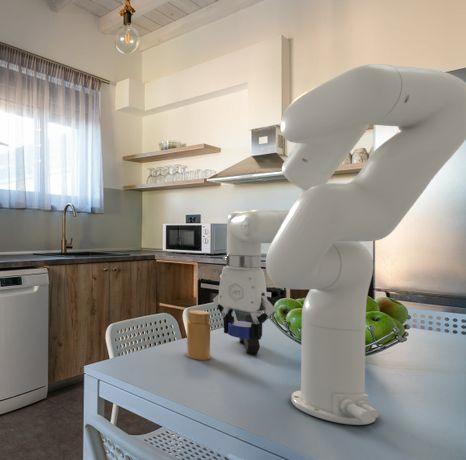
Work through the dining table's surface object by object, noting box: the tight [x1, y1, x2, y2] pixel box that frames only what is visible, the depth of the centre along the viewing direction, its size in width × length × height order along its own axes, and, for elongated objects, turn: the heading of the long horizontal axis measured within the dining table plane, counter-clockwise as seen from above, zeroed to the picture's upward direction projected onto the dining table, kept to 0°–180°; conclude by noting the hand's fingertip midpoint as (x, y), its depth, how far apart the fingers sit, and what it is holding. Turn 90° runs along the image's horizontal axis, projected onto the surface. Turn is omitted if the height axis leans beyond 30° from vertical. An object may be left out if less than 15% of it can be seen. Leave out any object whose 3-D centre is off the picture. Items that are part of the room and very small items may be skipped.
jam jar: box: [186, 309, 211, 361], centre depth 104 cm, size 6×6×12 cm
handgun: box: [238, 313, 261, 355], centre depth 112 cm, size 3×14×10 cm
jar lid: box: [227, 320, 252, 339], centre depth 97 cm, size 6×6×3 cm
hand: (242, 335), depth 97 cm, fingers closed on jar lid, 6 cm apart
